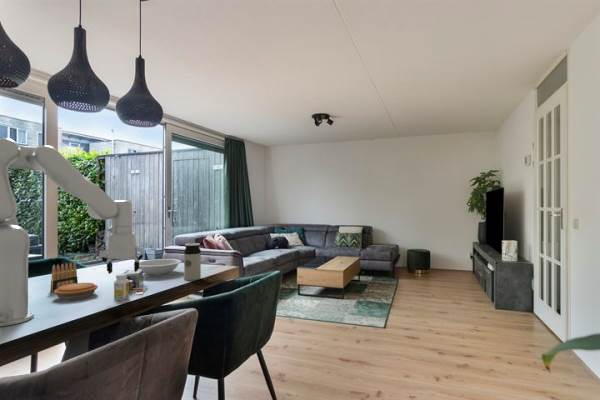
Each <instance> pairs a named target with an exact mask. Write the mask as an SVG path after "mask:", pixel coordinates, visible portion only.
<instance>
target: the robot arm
mask: <svg viewBox="0 0 600 400" xmlns="http://www.w3.org/2000/svg"><path fill="white" fill-rule="evenodd" d="M62 154H63V153H61V152H59V151H58V149H56V148H55V147H53V146H51V145H41V146H40V145H39V146H37V147H33V146H26V145H25V146H24V145H19V144H18V143H17V142H16V141H15V140H13V139H12V138H9V137H0V327H7V326H12V325H13V326H14V325H17V324H21V323H24V322H28V321H30V320H31V319H33V318H34V316H35V315H34V312H33V311H29V255H30V247H31V246H30V245H31V241H30V240H31V239H30V236H29V235H30V234H29V233H28V231H27V230H26V229H25V228H23V227H21V226H19V221H18V218H17V213H18V203H17V200H16V197H15V195H14V192H13V190H12V186H11V182H10V178H9V169H16V170H28V171H38V172H39V171H41V172H42V173H43V174H44V175H45V176H47V178H49V179H50V180H51V181H52V182H53V183H54V184H55V185H56V186H57V187H58V188H60V189H61V190H62V191H63V192H65V193H67V194H69V195H71V196H74V197H76V198H77V199H79V200H80V201H82V202H83V203H84V204H86V205H87V208H86V211H87V214H88V215H89V217H91V218H93V219H95V220H105V221H106V220H111V221H110V222H111V227H108V228H107V232H109V233H110V234H109V235H108V242H107V249H105V250H102V251H101V252H99V253H98V255H99V257H100V258H101V260H102V261H103V262H104V263H105V264H106V271H107V273H108V274H112V273H113V262H112V261H113V260H123V259H124V260H125V259H133V260H134V262H133V270H134V272H137V271H138V270H139V262H140V261H141V260H142V259H143V258H144V256H145V255H146V249H143V248H142V247H140V246H137V240H136V235H135V232H133V205H132V201H130V200H128V199H127V200H126V199H124V200H123V199H119V200H113V199H112V198H111V197H110V196H109V195H108V194H107V193H106V192H105V191H104V190H103V189H102V188H100V187H99V186H98V185H97V184H96V183H94V182H93V181H91V180H90V179H88V178H87V177H86V176H84V175H83V174H82V173H81V172H80V171H79V170H78V169H77V168H76V167H75V166H74V165H73V164H72V163H71V162H70V161H69V160H68V159H67V158H66V157H64V155H62ZM138 252H140V254H139V256H138ZM105 254H107V257H106V256H105Z"/></svg>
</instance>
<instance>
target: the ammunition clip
mask: <svg viewBox="0 0 600 400" xmlns="http://www.w3.org/2000/svg"><path fill="white" fill-rule="evenodd" d="M77 270H78V269H77V263H76V261H74V262H73V264H72V262H69V265H68V263H67V262H65V265H64V263H61V266H60V265H59V264H58V263H57V265H55V264H53V265H52V269H51V280H50V293H54V290H56V289H58V288H59V287H61V286H64V285H68V284H75V283H79V282H78V273H77V272H78V271H77Z"/></svg>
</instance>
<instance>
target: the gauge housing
mask: <svg viewBox="0 0 600 400" xmlns="http://www.w3.org/2000/svg"><path fill="white" fill-rule="evenodd" d="M122 274H127V278H126V279H134V285H133V286H136V287H135V288H143V290H142V291H135V293H134V296H140V295H141V296H142V295H143V294H144V293H145V292H146V290H147V289H148V286H147V287H142V286H143V285H144V273H143V269H142V270H139V269H138V271H137V272H134V269H127V270H126V271H124V272H122Z"/></svg>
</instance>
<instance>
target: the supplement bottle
mask: <svg viewBox="0 0 600 400" xmlns="http://www.w3.org/2000/svg"><path fill="white" fill-rule="evenodd" d="M126 278H127V274H123V273H119V274H115V280H114V282H113V290H114V291H113V299H114V300H115V301H123V300H127V299H129V297H130V290H129V280H128V279H126Z"/></svg>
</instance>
